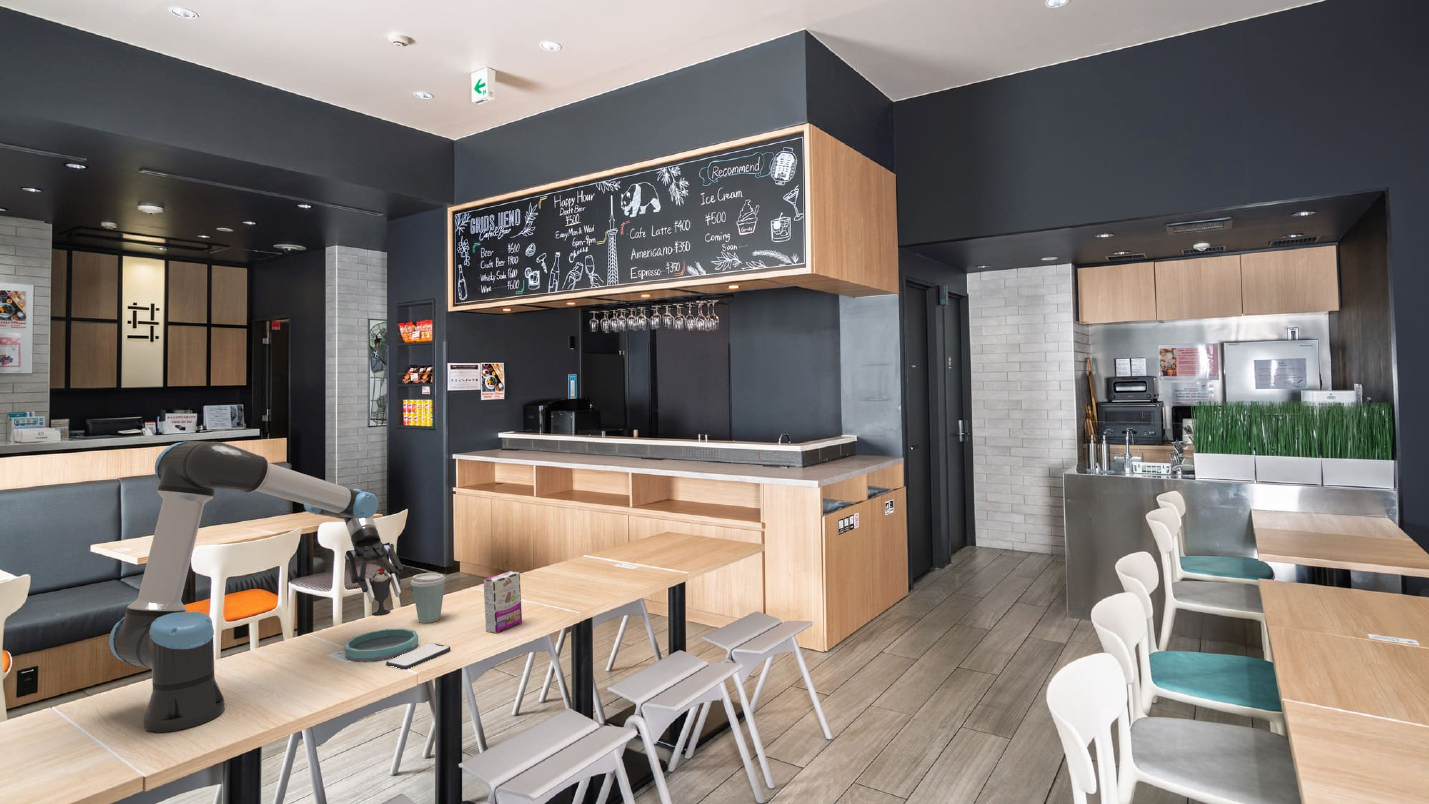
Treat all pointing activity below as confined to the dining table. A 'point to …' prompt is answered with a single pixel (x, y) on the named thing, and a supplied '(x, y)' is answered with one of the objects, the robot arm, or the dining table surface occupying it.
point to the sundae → (380, 589)
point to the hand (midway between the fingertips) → (385, 597)
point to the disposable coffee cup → (428, 596)
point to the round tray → (381, 644)
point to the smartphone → (418, 656)
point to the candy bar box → (502, 601)
